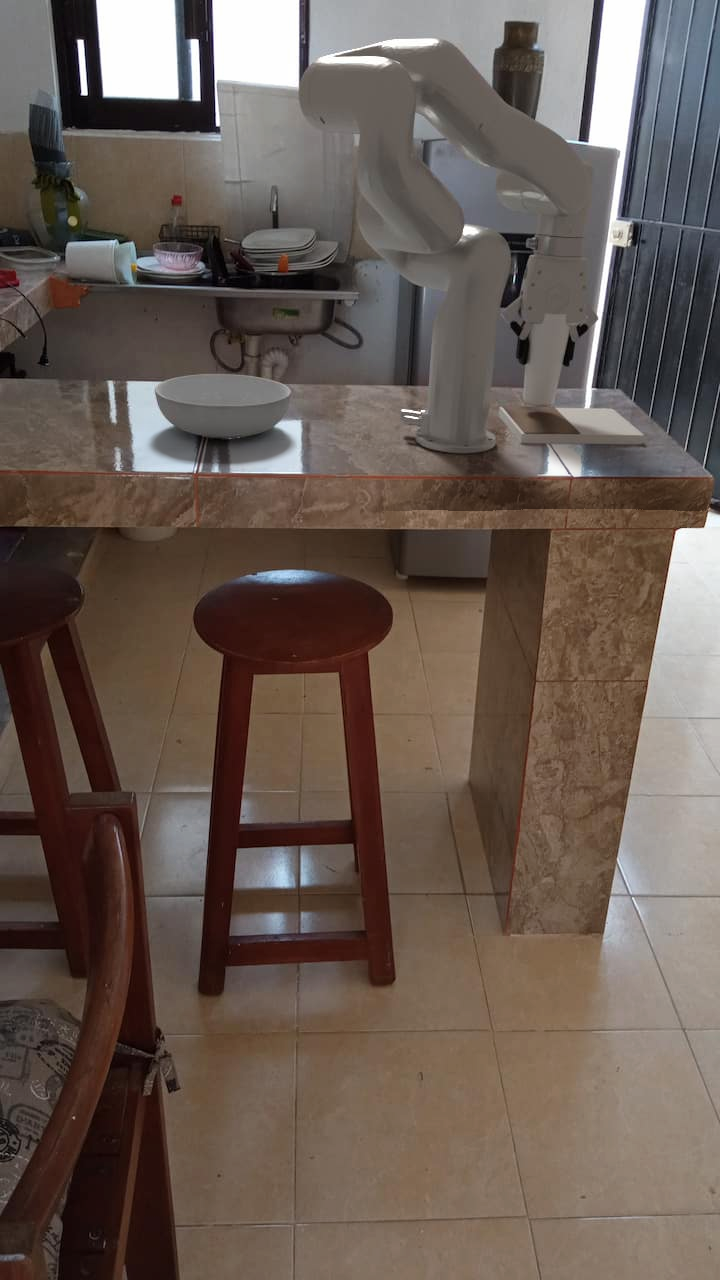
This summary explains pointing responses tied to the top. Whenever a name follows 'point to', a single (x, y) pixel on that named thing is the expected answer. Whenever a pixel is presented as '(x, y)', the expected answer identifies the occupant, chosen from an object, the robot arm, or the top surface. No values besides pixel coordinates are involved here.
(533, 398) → the drinking glass
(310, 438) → the top surface
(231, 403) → the serving bowl
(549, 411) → the brown rectangular panel
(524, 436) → the board
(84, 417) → the top surface
